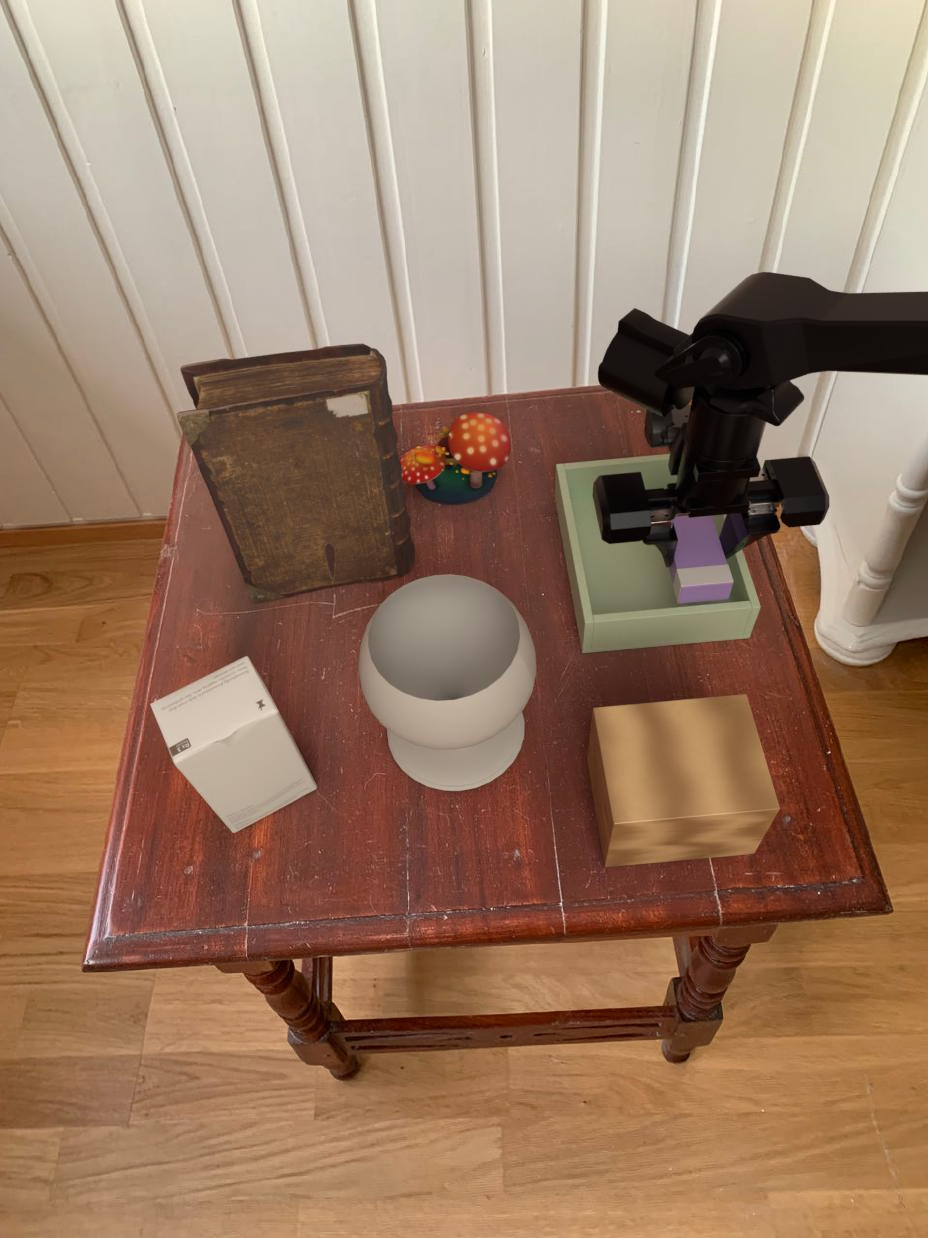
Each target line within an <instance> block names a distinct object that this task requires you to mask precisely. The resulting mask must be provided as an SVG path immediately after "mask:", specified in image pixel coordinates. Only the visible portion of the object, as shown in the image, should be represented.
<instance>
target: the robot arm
mask: <svg viewBox="0 0 928 1238" xmlns="http://www.w3.org/2000/svg"><path fill="white" fill-rule="evenodd" d="M617 322H618V323H617V331H616V333H615V334H614V336H613V338H611V341H610V342H609V344H608V346H607V348H606V350H605V352H604V356H603V358H602V361H601V362H600V363H599V365H598V369H597V381H598V383H599V385H600V386H601V387H602V388H604V389H606V390H607V391H610V392H612V393H614V394H616V395H617V396H620V397H622V398H624V399H625V400H628V401H630V402H632V403H633V404H636V405H638V406H640V407H642V408H643V409H645V410H646V412H645V417H644V429H643V430H644V431H643V432H644V433H643V434H644V438H645V441H646V442H647V445H648V447H649V448H651V449H656V448H667V449H668V451H669V454H670V457H669V463H668V467H669V471H670V474H671V476H672V475H677V480H676V483H669V484H667V486H666V489H664V488H658V489H647V490H645V486H644V482H643V478H642V474H641V472H630V473H619V474H608V475H599V476H598V477H597V479H596V480H595V481H594V483H593V494H592V496H593V501H594V505H595V510H596V515H597V520H598V525H599V529H600V534H601V539H602V540H603V541H605V542H607V543H608V544H616V543H627V542H638V541H641V540H642V542H643V543H644V544H646V545H655V546H656V547H657V548H658V550H659V551H660V552H661V554H662V556H663V560H664V563H665V566H666V568H667V567H670V566H671V565H672V563H673V561H674V557H675V552H676V547H677V543H678V538H677V534H676V530H675V527H674V523H673V521H674V519H675V517H678V516H688V517H689V518H692V517H703V516H714V515H725V514H727V515H726V518H725V521H724V524H723V527H722V530H721V533H720V536H719V539H720V542H721V545H722V549H723V552H724V555H725V558H726V560H727V559H728V558H730V557H731V556H733V555H734V554H736V553H737V552H739V551H740V550H743V549H745V548H746V547H748V546H750V545H752V544H754V543H756V542H758V541H759V540H761V539H764V538H765V537H767V536H769V535H773V534H774V535H775V534H778V533H779V531H780V530H781V527H782V526H781V523H782V524H784V525H785V526H786V527H788V528H789V529H791V528H799V527H811V526H812V527H813V526H820V525H821V524H822V523H823V521H824V520H825V519H826V517H827V514H828V511H829V509H830V495H829V492H828V490H827V487H826V485H825V482H824V481H823V478H822V475H821V473H820V470H819V468H818V466H817V463H816V462H815V460H814V459H813V458H812V457H811V456H810V455H805V456H794V457H792V456H791V457H781V458H771V459H765V460H764V461H763V465H762V467H761V464H760V461H759V459H758V458H759V457H758V453H759V449H760V447H761V443H762V439H763V436H764V432H765V430H766V429H765V428H766V425H767V424H769V425H771V426H773V427H780V426H781V425H782V424H783V423H784V422H785V421H786V420H787V419H788V418H789V417H790V416H791V415H792V413H793V412H794V411H795V410H797V409H798V407H799V406H800V405H801V404H802V403H803V402H804V400H805V395H804V393H803V392H802V391H801V389H800V388H799V386H797V385H795V384H794V383H793V382H792V380H796V379H798V378H802V377H804V376H807V375H811V374H816V373H824V372H840V373H864V374H883V375H884V374H885V375H912V376H928V290H927V291H888V292H887V291H885V292H883V291H882V292H850V293H849V292H843V291H837V290H836V291H835V290H831V289H828V288H827V287H825V286H823V284H820V283H818V282H817V281H815V280H813V279H812V278H811V277H806V276H800V275H792V274H785V273H777V272H771V271H761V272H756V273H752V274H750V275H748V276H746V277H745V278H744V279H743V280H742V281H741V282H739V283H738V284H737V285H736V286H734V288H733V289H731V290H730V291H729V292H728V293H727V294H726V295H725V296H724V297H723V298H721V299H720V300H719V301H718V302H717V303H716V304H715V305H714V306H712V308H710V310H708V311H707V312H706V313H705V314H704V315H703V316H702V317H700V318H699V320H698V321H697V323H696V324H695V325H694V327H693V330H692V332H691V333H690V334H688V333H686V332H684V331H682V330H679V329H677V328H675V327H673V326H671V325H669V324H666V323H664V322H661V321H659V320H657V319H656V318H654V317H653V316H651V315H650V314H649V313H647V312H645V311H644V310H643V311H642V310H640V309H638V308H635V307H634V308H632V309H631V310H630V311H628V312H627V313H626V314H625V315H624V316H623V317H622V318H620V320H618V321H617ZM780 506H781V509H782V510H781V513H780V515H779V516H778V514H777V513H778V508H780ZM779 519H780V520H779ZM780 521H781V523H780Z"/></svg>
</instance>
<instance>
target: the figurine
mask: <svg viewBox="0 0 928 1238" xmlns="http://www.w3.org/2000/svg"><path fill="white" fill-rule="evenodd" d="M437 435H438V436H439V437H441V438H440V439H439V440H438V442H437V444H436V445H420V446H419V445H416V447H414V448H412V449H409V450H407V451H406V452H405V453H404V454H403V455H402V456H401V457H400V458H399V459H400V462H401V464H402V483H405V484H407V485H408V484H409V485H415V487H416V489H417V490H418V492H419V493H420V494H421V495H422V497H424V498H425V499H427V500H429V501H431V502H433V503H437V504H442V505H462V504H469V503H473V502H475V501H477V500H479V499H482V498H484V497H485V496H487V495H489V493H490V492H491V491H492V489H493V488H494V486H495V485H496V482H497V478H498V469H500V468H501V467H503V466H505V464H506V463H507V462H508V460H509V458H510V454H511V452H512V451H511V450H512V441H511V440H512V439H511V435H510V433H509V431H508V429H507V426H506V425H505V424H504V423H503V422H502V420H500V419H499V418H497V417H496V416H493V415H492V414H490V413H486V412H480V411H477V412H476V411H475V412H473V411H471V412H467V413H464V414H461V415H460V416H458V417H457V418H455V420H454V421H453V422H452V423H451V425H450V427H449V428H447V427H446V426H442V432H441V433H439V434H437Z"/></svg>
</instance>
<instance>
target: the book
mask: <svg viewBox="0 0 928 1238" xmlns="http://www.w3.org/2000/svg"><path fill="white" fill-rule="evenodd" d="M179 371H180V373H181V376H182V379H183V381H184V384H185V387H186V389H187V392H188V395H189V396H190V398H191V400H192V403H193V405H194V408H195V409H189V410H183V411H179V412H177V413H176V417H177V422H178V425H179V427H180V429H181V432H182V434H183V436H184V438H185V440H186V443H187V445H188V447H190V449H191V452H192V454H193V456H194V458H195V461H196V463H197V466H198V467H197V468H198V469H199V472H200V475H201V477H202V479H203V481H204V483H205V485H206V488H207V490H208V492H209V496H210V497H211V501H212V502H213V505H214V508H215V510H216V512H217V515H218V517H219V520H220V522H221V525H222V527H223V530H224V532H225V535H226V538H227V541H228V543H229V545H230V547H231V551H232V552H233V556H234V559H235V562H236V564H237V567H238V568H239V571H240V572H241V575H242V578H243V582H244V585H245V588H246V591H247V593H248V595H249V598H250V600H251V603H259V602H268V601H273V600H274V601H275V600H279V599H285V598H289V597H294V596H297V595H302V594H306V593H310V592H314V591H319V590H323V589H330V588H336V587H340V586H346V585H352V584H359V583H377V582H383V581H389V580H394V579H397V578H401V577H402V576H404V575H405V574H406V573H408V572H409V571H411V570H412V568H413V567H414V566H413V565H414V562H415V557H416V556H415V555H416V548H415V547H416V546H415V544H414V541H413V539H412V535H411V517H410V515H409V511H408V510H407V509H408V508H407V493H406V489H405V487H404V482H403V481H402V464H401V462H400V459H401V458H400V456H399V450H398V440H399V438H398V433H397V429H396V427H395V426H394V419H393V413H394V411H393V401H392V398H391V396H390V393H389V384H388V367H387V361H386V359H385V356H384V355H383V354H382V353H381V352H380V351H379V350H378V349H377V348H375V347H371V346H369V345H367V344H365V343H350V344H338V345H337V344H336V345H329V346H328V345H327V346H323V347H320V348H313V349H305V350H295V351H286V352H278V353H270V354H263V355H255V356H247V357H240V358H217V359H210V360H205V361H199V362H192V363H189V364H183V365H181V366H180V368H179Z"/></svg>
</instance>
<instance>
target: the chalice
mask: <svg viewBox="0 0 928 1238" xmlns="http://www.w3.org/2000/svg"><path fill="white" fill-rule="evenodd" d="M374 611H375V612H374V613H373V614H372V616H371V618H370V619H369V621H368V622H367V625H366V626H365V627H366V628H365V631H364V634H363V637H362V639H361V643H360V646H359V658H358V678H359V683H360V688H361V693H362V695H363V698H364V699H365V701H366V704H367V705H368V708H369V710H370V712H371V714H372V715H373V716H374V717H375V718H376V719H377V720H378V721H379V723H380V724H381V725H382V727H384V728H385V729H386V735H387V742H388V748H389V750H390V752H391V755H392V757H393V760H394V761H395V762H396V763H397V765H398V766H399V768H400V769H401V770H402V771H403V772H404V773H405V774H407V776H409V777H410V778H411V779H412V780H414V781H416V782H417V783H420V784H422V785H424V786H426V787H428V788H432V789H436V790H439V791H449V792H452V791H453V792H461V791H467V790H473V789H477V788H479V787H481V786H484V785H486V784H489V783H491V782H492V781H494V780H496V779H497V778H498V777H499V776H501V775H503V774H504V773H505V772H506V771H507V770H508V769H509V767H510V766H511V765H512V764H513V763H514V761H515V760H516V759H517V756H518V755H519V753H520V751H521V750H522V746H523V743H524V738H525V724H526V723H525V717H524V714H523V711H524V710H525V708H526V706H527V704H528V702H529V700H530V699H531V696H532V694H533V691H534V686H535V683H536V677H537V670H538V669H537V654H536V653H537V652H536V647H535V644H534V641H533V639H532V638H533V637H532V635H531V633H530V629H529V627H528V625H527V622H526V621H525V618H524V617H523V616H522V615H521V613H520V612H519V610H518V609H517V607H516V605H515V604H514V603H513V602H512V600H510V599H509V598H508V597H506V596H505V595H504V593H502V592H501V591H500V590H498V588H496V587H494V586H492V585H490V584H488V583H487V582H484V580H483V581H482V580H480V579H477V578H473V577H471V576H467V575H460V574H451V573H450V574H448V573H445V574H433V575H429V576H425V577H421V578H418V579H415V580H413V581H411V582H408V583H405V584H403V585H402V586H401V587H399V588H398V589H396V590H395V591H393V592H392V593H390V594H389V595H388V596H387V597H386V598H385V599H384V600H383V601H382V602H381V603H380V604H379V605H378V607H376V610H374Z"/></svg>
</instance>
